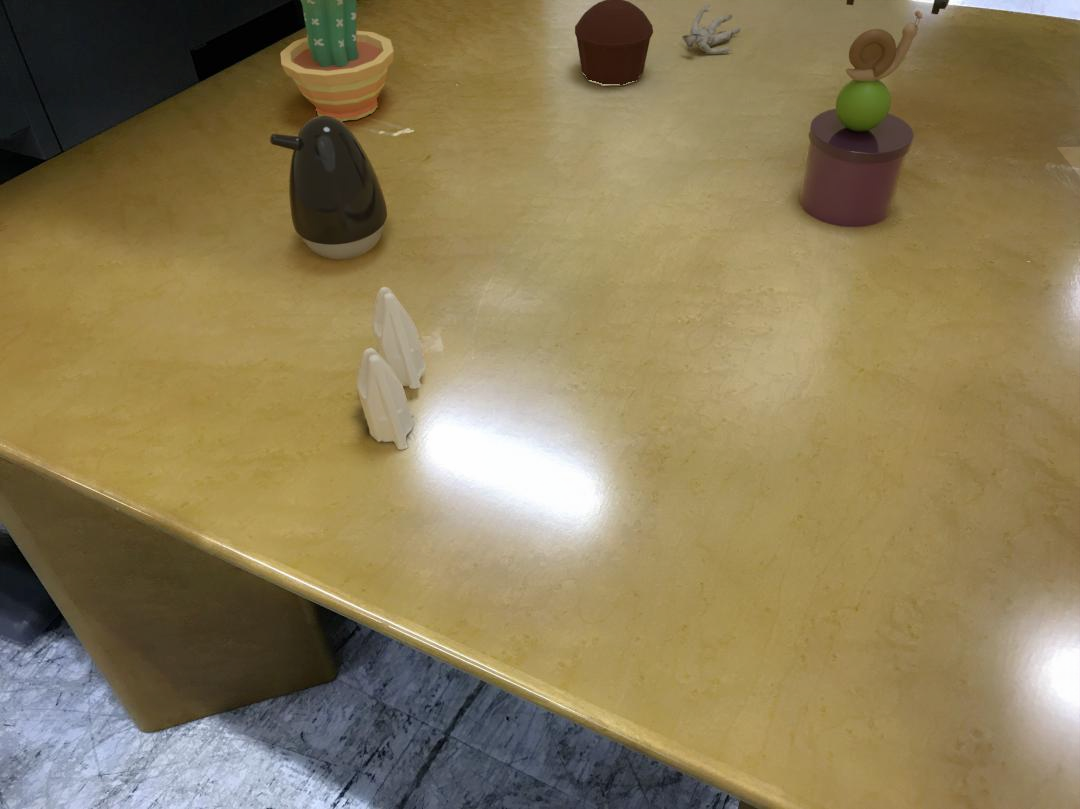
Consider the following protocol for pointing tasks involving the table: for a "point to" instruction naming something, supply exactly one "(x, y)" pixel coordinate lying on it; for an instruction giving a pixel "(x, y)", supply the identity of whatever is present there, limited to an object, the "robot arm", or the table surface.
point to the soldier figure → (709, 34)
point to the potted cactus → (337, 60)
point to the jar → (853, 170)
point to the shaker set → (390, 371)
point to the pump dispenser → (333, 190)
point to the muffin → (613, 42)
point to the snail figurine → (871, 77)
